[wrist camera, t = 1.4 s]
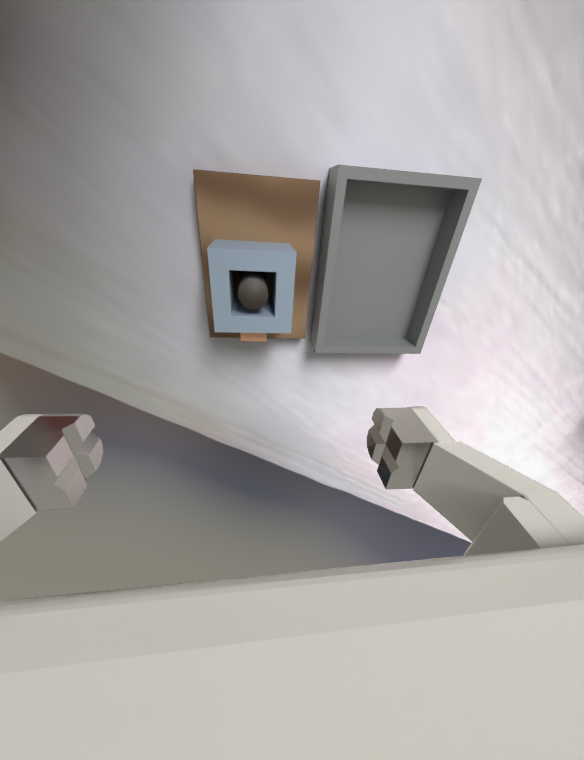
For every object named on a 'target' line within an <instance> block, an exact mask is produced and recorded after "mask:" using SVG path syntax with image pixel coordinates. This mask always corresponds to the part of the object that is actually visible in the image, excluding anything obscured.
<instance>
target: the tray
mask: <svg viewBox="0 0 584 760" xmlns="http://www.w3.org/2000/svg"><path fill="white" fill-rule="evenodd" d="M481 180H482V179H480V178H470V177H460V176H449V175H439V174H429V173H418V172H408V171H398V170H387V169H377V168H367V167H356V166H346V165H337V166H334V167H332V168H330V171H329V180H328V189H327V198H326V207H325V216H324V225H323V234H322V243H321V252H320V261H319V270H318V279H317V288H316V297H315V306H314V315H313V324H312V333H311V343H312V346H313V348H314V351H315V353H397V354H420V353H421V350H422V347H423V344H424V341H425V338H426V336H427V333H428V330H429V327H430V324H431V321H432V319H433V316H434V313H435V310H436V307H437V304H438V302H439V299H440V296H441V293H442V290H443V287H444V285H445V282H446V279H447V276H448V273H449V270H450V268H451V265H452V262H453V259H454V256H455V253H456V251H457V248H458V245H459V242H460V239H461V236H462V234H463V231H464V228H465V225H466V222H467V219H468V217H469V214H470V211H471V208H472V205H473V202H474V200H475V197H476V194H477V191H478V188H479V185H480V183H481Z"/></svg>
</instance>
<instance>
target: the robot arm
mask: <svg viewBox="0 0 584 760" xmlns="http://www.w3.org/2000/svg"><path fill="white" fill-rule="evenodd" d="M372 420H373V422H374V424H375V425H373V426H372V427H371V428H370V429H369V431H368V435H367V448H368V452H369V455H370V457H371V459H372V460H373V461H374V462H376V463H377V464H379V466H378V469H377V472H378V474H379V476H380V478H381V480H382V482H383V485H384V487H385V489H411V488H414V489H413V490H414V491H415V492H416V493H417V494H418V495H420V496H421V497H422V498H423V499H424V500H425V501H426V502H428V503H429V504H430V505H431V506H432V507H433V508H434V509H436V510H437V511H438V512H439V513H440V514H441V515H442V516H444V517H445V518H446V519H447V520H448V521H449V522H450V523H452V524H453V525H454V526H455V527H456V528H457V529H458V530H460V531H461V532H462V533H463V534H464V535H465V536H466V537H468V538H469V539H470V540H471V541H472V543H471V545H470V546H469V547H468V549H467V551H466V552H465V553H464V556H458V557H447V558H437V559H427V560H416V561H406V562H396V563H386V564H375V565H365V566H354V567H345V568H333V569H323V570H313V571H303V572H292V573H282V574H271V575H261V576H251V577H240V578H231V579H220V580H210V581H199V582H189V583H179V584H168V585H158V586H148V587H138V588H128V589H117V590H107V591H97V592H86V593H76V594H67V595H55V596H45V597H35V598H24V599H14V600H4V601H0V760H584V517H583V516H582V515H581V514H580V513H579V512H578V511H577V510H576V509H575V508H574V507H573V506H571V505H570V504H569V503H568V502H567V501H566V500H565V499H564V498H563V497H562V496H561V495H560V494H559V493H557V492H555V491H554V490H552V489H550V488H548V487H546V486H544V485H542V484H540V483H538V482H536V481H535V480H533V479H531V478H529V477H527V476H525V475H523V474H521V473H519V472H517V471H516V470H514V469H512V468H510V467H508V466H506V465H504V464H502V463H500V462H498V461H497V460H495V459H493V458H491V457H489V456H487V455H485V454H483V453H481V452H479V451H478V450H476V449H474V448H472V447H470V446H468V445H466V444H464V443H462V442H456V441H455V440H454V439H453V438H452V437H451V436H450V434H449V433H448V432H447V431H446V430H445V429H444V428H443V426H442V425H441V424H440V423H439V422H438V421H437V420H436V418H435V417H434V416H433V415H432V414H431V413H430V411H429V410H428V409H427V408H425V407H423V406H421V407H407V408H376V410H375V411H374V412H373V416H372ZM94 427H95V424H94V422H93V420H92V418H91V416H89V415H86V414H24V415H21V416H18V417H16V418H15V419H14V420H13V421H11V422H10V423H9V424H8V425H7V426H6V427H4V428H3V429H2V430H1V431H0V542H1V541H2V540H3V539H4V538H6V537H7V536H8V535H9V534H10V533H12V532H13V531H14V530H15V529H17V528H18V527H19V526H21V525H22V524H23V523H24V522H26V521H27V520H28V519H29V518H31V517H32V516H33V515H34V514H36V511H43V510H56V509H67V508H74V507H75V505H76V504H77V502H78V501H79V499H80V497H81V496H82V494H83V492H84V491H85V489H86V487H87V482H86V478H87V477H89V476H91V475H92V474H93V473H95V472H96V470H97V469H98V467H99V465H100V463H101V460H102V456H103V445H102V442H101V439H100V438H99V437H98V436H96V435H95V434H94V433H92V430H93V429H94Z"/></svg>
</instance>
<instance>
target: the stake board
mask: <svg viewBox="0 0 584 760" xmlns="http://www.w3.org/2000/svg"><path fill="white" fill-rule="evenodd" d="M193 173H194V183H195V193H196V203H197V212H198V222H199V232H200V242H201V252H202V262H203V272H204V282H205V292H206V302H207V311H208V321H209V331H210V337H232V338H241V337H240V333H234V332H215V330H214V319H213V308H212V297H211V286H210V275H209V264H208V253H207V248H208V246H209V245H210V244H211V243H212V242H213V241H214V240H215V239H222V240H239V241H257V242H274V243H290V245H291V246H292V247H293V249H294V250H295V251H296V253H297V254H296V269H295V283H294V298H293V312H292V327H291V333H267V338H305V332H306V322H307V312H308V301H309V291H310V281H311V271H312V261H313V251H314V240H315V230H316V220H317V210H318V200H319V190H320V181H318V180H306V179H295V178H284V177H272V176H261V175H250V174H238V173H227V172H216V171H204V170H193ZM233 271H234V293H235V298H239V301H240V302H241V304H242V305H243V306H244V307H246V308H248V309H253V310H254V309H259V308H261V307H263V306H264V305H265V304H266V302H267V300H268V299H272V273H273V272H261V271H238V270H233Z"/></svg>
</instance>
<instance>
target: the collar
mask: <svg viewBox="0 0 584 760" xmlns="http://www.w3.org/2000/svg"><path fill="white" fill-rule="evenodd" d="M207 253H208V264H209V275H210V286H211V297H212V308H213V319H214V330H215V332H234V333H240V337H241V341H267V333H291V327H292V312H293V298H294V283H295V269H296V254H297V253H296V251H295V250H294V249H293V247H292V246H291V245H290V243H274V242H257V241H239V240H222V239H215V240H214V241H213V242H212V243H211V244H210V245H209V246H208V248H207ZM233 270H238V271H261V272H273V273H272V299H268V300H267V302H266V304H265V305H264V306H263V307H261V308H259V309H254V310H253V309H248V308H246V307H244V306H243V305H242V304H241V302H240V301H239V298H235V293H234V271H233Z"/></svg>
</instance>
